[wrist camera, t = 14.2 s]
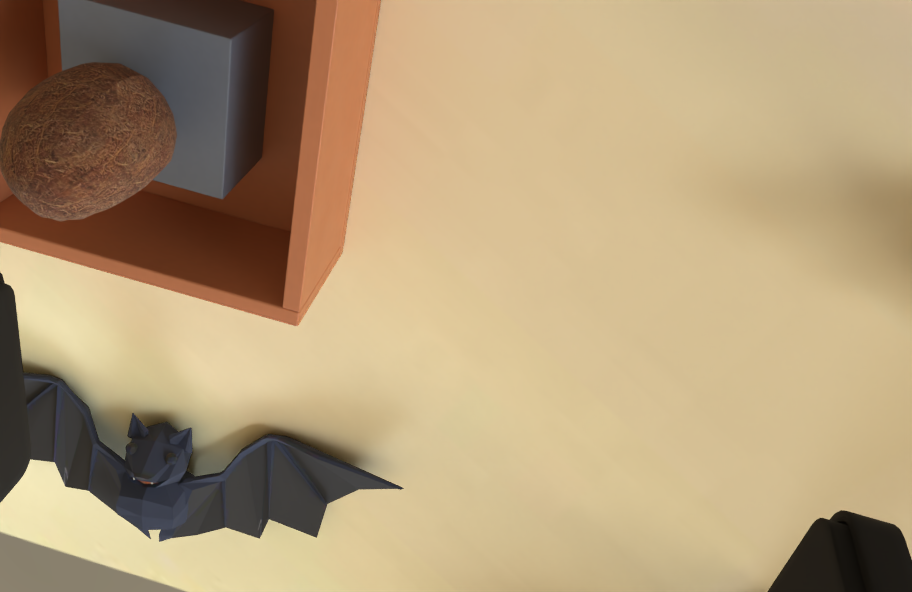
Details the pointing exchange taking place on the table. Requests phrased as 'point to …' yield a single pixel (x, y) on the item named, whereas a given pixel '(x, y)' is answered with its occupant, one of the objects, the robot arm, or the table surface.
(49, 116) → the coconut
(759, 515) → the table surface
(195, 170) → the block
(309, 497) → the decorative bat
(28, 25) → the box
